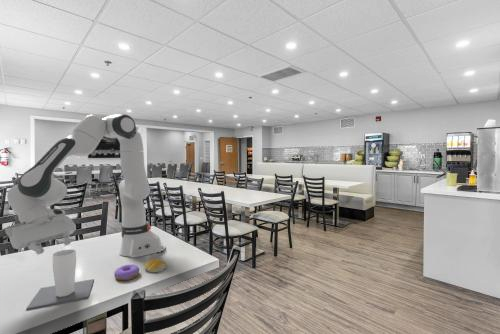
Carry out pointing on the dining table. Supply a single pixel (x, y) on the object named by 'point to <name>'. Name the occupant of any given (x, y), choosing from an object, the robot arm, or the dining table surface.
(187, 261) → the dining table surface
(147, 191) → the robot arm
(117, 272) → the donut
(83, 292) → the rubber mat
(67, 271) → the drinking glass
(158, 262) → the bread roll
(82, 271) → the dining table surface
